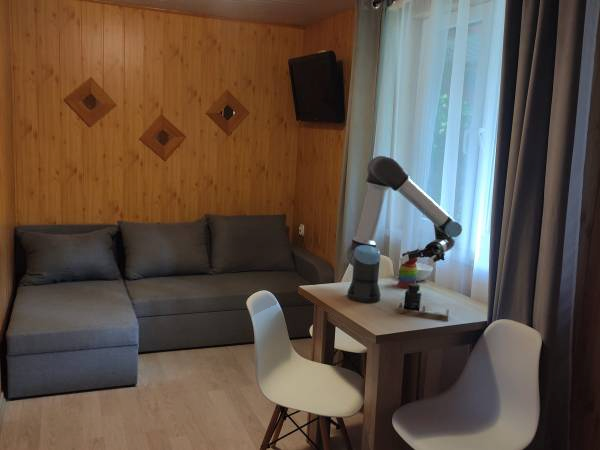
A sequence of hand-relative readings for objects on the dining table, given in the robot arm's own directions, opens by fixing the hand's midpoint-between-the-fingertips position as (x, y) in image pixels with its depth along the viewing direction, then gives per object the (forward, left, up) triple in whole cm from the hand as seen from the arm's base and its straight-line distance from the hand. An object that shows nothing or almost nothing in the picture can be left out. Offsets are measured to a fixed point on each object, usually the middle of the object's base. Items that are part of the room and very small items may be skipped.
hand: (415, 261), depth 258 cm
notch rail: (+6, -9, -20) cm, 23 cm away
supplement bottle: (+1, -8, -20) cm, 22 cm away
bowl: (-2, +52, -20) cm, 56 cm away
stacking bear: (-5, +34, -20) cm, 40 cm away
